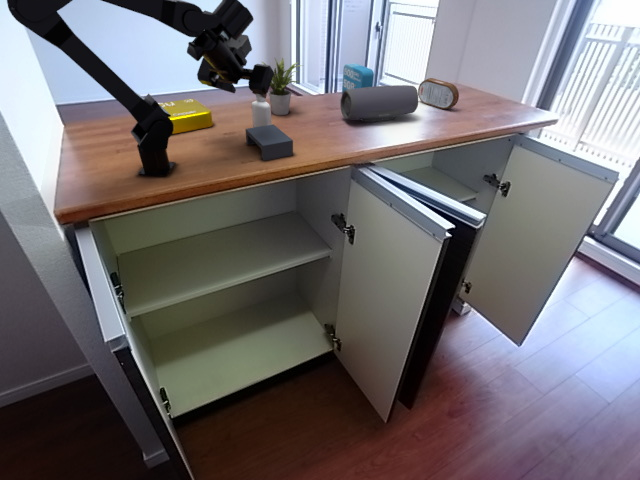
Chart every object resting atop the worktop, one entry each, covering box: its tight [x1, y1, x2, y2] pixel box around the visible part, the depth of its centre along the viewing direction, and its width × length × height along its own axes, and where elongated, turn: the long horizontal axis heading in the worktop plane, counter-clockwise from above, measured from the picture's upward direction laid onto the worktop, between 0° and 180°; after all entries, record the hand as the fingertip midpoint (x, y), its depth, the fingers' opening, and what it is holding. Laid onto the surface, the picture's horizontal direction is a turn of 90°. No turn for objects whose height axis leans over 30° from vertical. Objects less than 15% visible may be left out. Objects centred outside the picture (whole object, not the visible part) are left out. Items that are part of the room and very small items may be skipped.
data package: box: [341, 62, 375, 95], centre depth 126 cm, size 12×4×12 cm, turn 28°
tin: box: [417, 77, 460, 110], centre depth 128 cm, size 15×3×8 cm, turn 42°
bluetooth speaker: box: [339, 84, 419, 123], centre depth 115 cm, size 23×9×10 cm, turn 110°
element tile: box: [157, 98, 214, 135], centre depth 108 cm, size 15×15×5 cm
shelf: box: [245, 124, 294, 162], centre depth 96 cm, size 8×12×4 cm, turn 29°
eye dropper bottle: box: [251, 95, 272, 128], centre depth 103 cm, size 4×6×12 cm
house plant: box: [261, 57, 304, 116], centre depth 114 cm, size 14×14×16 cm
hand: (250, 94), depth 96 cm, fingers open, 9 cm apart
